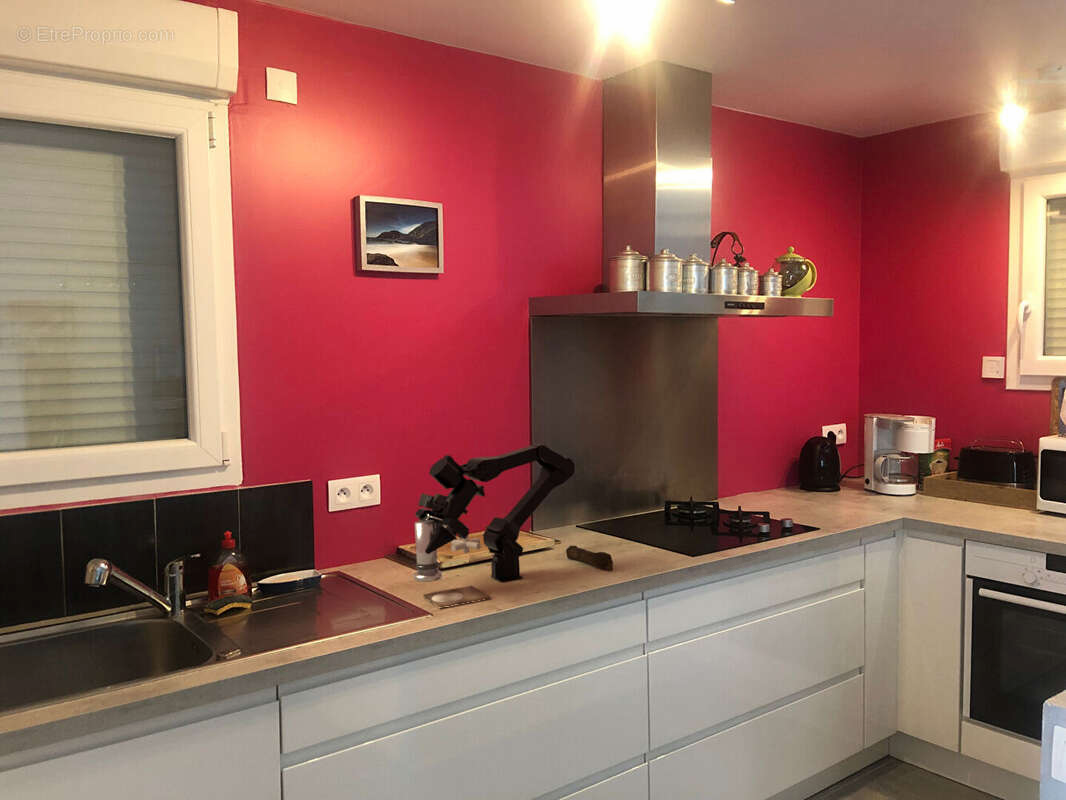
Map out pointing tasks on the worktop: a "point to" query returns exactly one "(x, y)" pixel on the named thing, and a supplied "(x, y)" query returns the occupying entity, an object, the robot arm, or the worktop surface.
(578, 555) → the hand tool
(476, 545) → the pipe connector
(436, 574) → the silver flared cylinder
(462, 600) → the walnut board
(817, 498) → the worktop surface
